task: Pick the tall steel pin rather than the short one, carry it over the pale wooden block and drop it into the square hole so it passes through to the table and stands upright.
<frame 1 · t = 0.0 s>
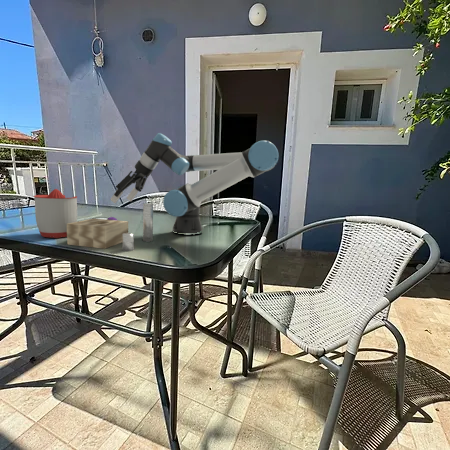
hand: (121, 200, 126), 15 cm above the table, tool tilted 35°, fingers open, 13 cm apart
citrus juicer: (59, 235, 116), on the table
long pin: (147, 240, 115), on the table
hole block: (99, 241, 108), on the table
kendama: (104, 231, 131), on the table
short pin: (128, 249, 100), on the table
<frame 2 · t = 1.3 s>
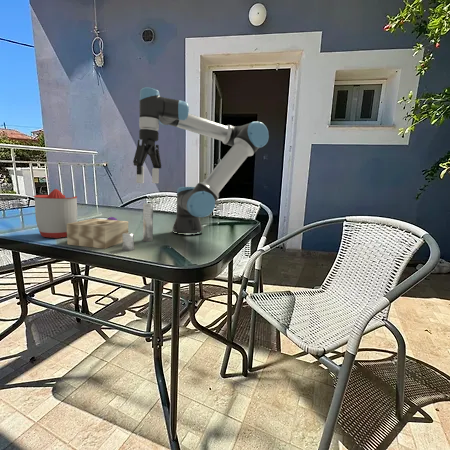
hand: (148, 183, 111), 25 cm above the table, tool pointing down, fingers open, 13 cm apart
nothing on the table moved.
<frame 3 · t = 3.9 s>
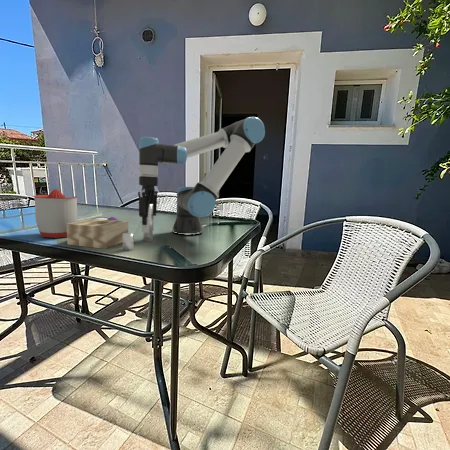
hand: (147, 231, 115), 4 cm above the table, tool pointing down, fingers closed on long pin, 4 cm apart
long pin: (147, 240, 115), on the table, touching gripper
everything else where it was.
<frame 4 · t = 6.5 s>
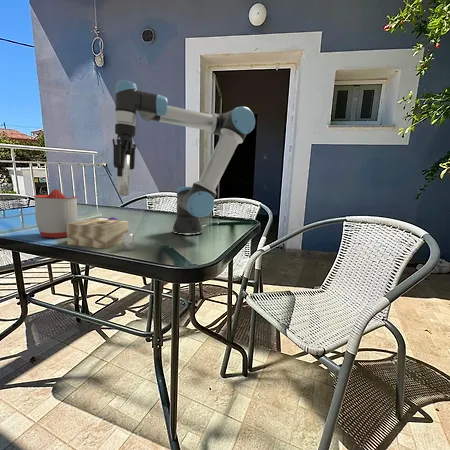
hand: (123, 185, 108), 23 cm above the table, tool pointing down, fingers closed on long pin, 4 cm apart
long pin: (123, 195, 109), point 19 cm above the table, touching gripper
everything else where it was.
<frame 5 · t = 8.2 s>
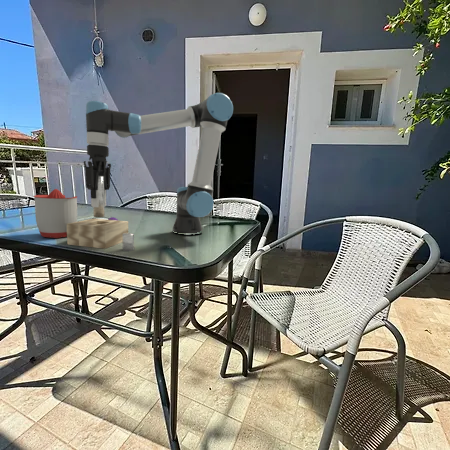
hand: (99, 206, 106), 15 cm above the table, tool pointing down, fingers closed on long pin, 4 cm apart
long pin: (99, 216, 107), point 10 cm above the table, touching gripper
everything else where it was.
when the fingers open (10 cm above the table, at t = 9.3 s): long pin drops 6 cm, resting in hole block.
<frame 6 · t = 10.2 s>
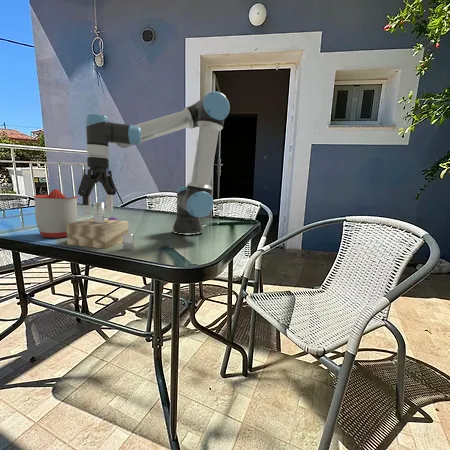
hand: (99, 212, 106), 12 cm above the table, tool pointing down, fingers open, 13 cm apart
long pin: (99, 241, 108), resting in hole block
everything else where it was.
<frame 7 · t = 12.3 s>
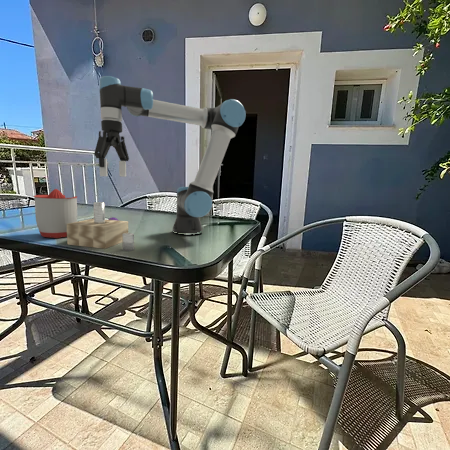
hand: (113, 176, 108), 26 cm above the table, tool pointing down, fingers open, 13 cm apart
nothing on the table moved.
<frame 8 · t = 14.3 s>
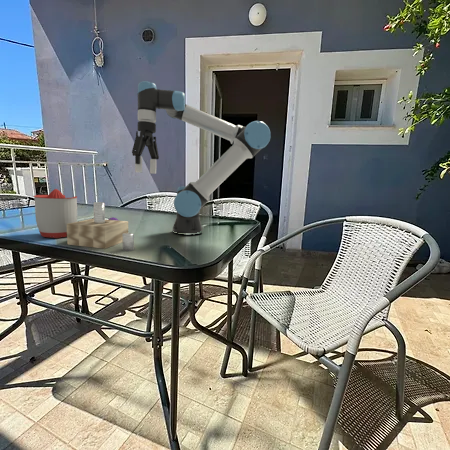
hand: (146, 173, 117), 29 cm above the table, tool pointing down, fingers open, 13 cm apart
at the end: long pin 0.1 cm off-centre on the hole block, point 0.0 cm above the hole block's base; long pin tilted 0°; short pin moved 0.0 cm from its start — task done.
